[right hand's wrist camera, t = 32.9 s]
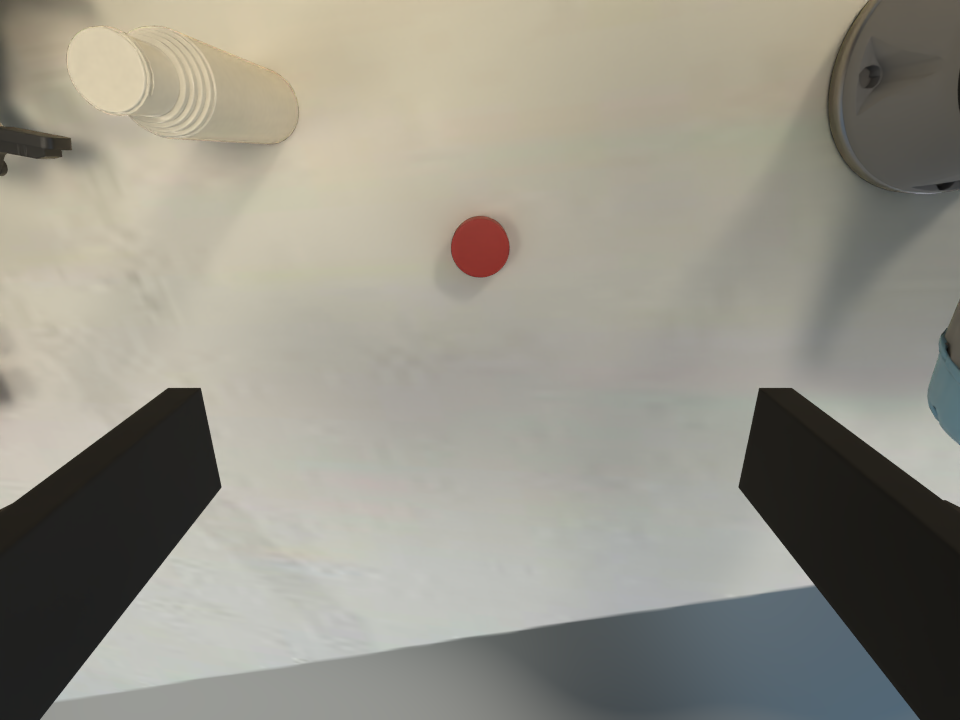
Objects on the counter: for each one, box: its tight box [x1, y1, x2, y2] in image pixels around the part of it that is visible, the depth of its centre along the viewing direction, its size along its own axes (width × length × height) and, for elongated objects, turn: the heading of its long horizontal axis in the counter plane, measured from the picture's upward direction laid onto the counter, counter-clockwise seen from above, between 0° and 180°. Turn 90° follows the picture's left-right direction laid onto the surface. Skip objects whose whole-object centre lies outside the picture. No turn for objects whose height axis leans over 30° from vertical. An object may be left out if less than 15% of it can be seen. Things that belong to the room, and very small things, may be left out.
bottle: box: [66, 26, 299, 144], centre depth 29 cm, size 5×5×17 cm
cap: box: [451, 216, 509, 277], centre depth 40 cm, size 4×4×2 cm
